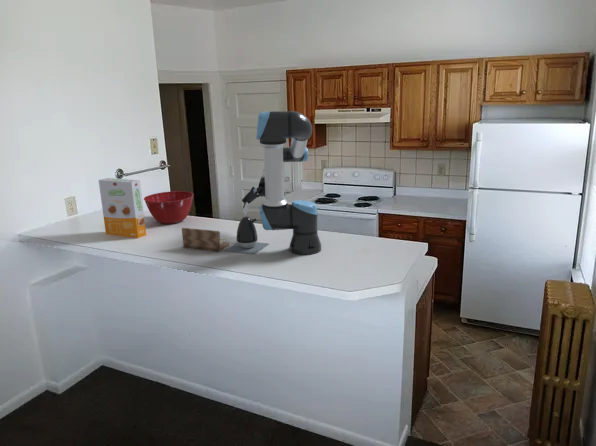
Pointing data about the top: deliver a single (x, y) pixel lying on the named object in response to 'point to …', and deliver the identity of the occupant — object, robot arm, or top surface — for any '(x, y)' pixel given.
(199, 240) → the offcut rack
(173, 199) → the mixing bowl
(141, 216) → the cereal box
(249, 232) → the black and white ovoid
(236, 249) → the slate mat
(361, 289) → the top surface
